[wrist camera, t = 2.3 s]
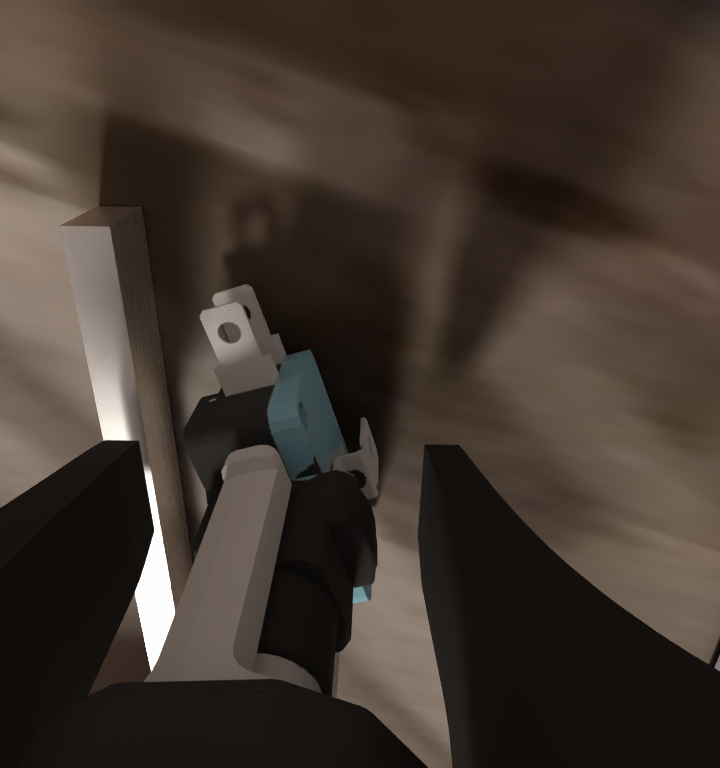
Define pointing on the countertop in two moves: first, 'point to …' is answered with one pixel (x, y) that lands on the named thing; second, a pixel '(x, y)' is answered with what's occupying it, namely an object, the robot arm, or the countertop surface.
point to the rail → (132, 389)
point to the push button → (253, 586)
